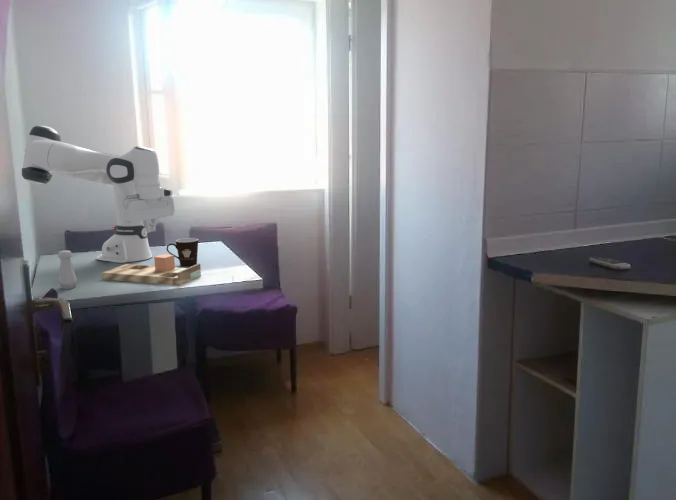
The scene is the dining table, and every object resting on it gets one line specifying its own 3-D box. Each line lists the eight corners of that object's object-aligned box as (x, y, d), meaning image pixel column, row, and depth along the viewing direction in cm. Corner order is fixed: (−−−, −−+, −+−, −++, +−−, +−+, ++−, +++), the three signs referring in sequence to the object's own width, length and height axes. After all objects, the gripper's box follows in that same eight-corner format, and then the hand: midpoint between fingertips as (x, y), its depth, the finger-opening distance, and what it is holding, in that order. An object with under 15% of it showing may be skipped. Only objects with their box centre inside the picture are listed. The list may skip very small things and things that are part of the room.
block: (155, 270, 231) (154, 256, 230) (164, 267, 236) (163, 254, 235) (166, 271, 229) (165, 258, 228) (175, 268, 234) (174, 255, 233)
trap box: (102, 279, 229) (101, 267, 228) (126, 270, 242) (125, 258, 241) (180, 285, 220) (179, 272, 219) (200, 275, 233) (200, 263, 232)
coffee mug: (203, 263, 252) (202, 238, 250) (192, 268, 244) (190, 242, 242) (178, 261, 256) (177, 237, 254) (166, 266, 248) (164, 241, 246)
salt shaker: (62, 285, 221) (58, 249, 218) (79, 285, 222) (76, 248, 219) (56, 290, 215) (52, 252, 213) (74, 289, 216) (70, 252, 213)
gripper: (129, 196, 214) (132, 237, 217) (175, 190, 230) (178, 228, 233) (117, 195, 217) (120, 235, 220) (164, 189, 234) (166, 226, 237)
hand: (150, 231), depth 227 cm, fingers closed
